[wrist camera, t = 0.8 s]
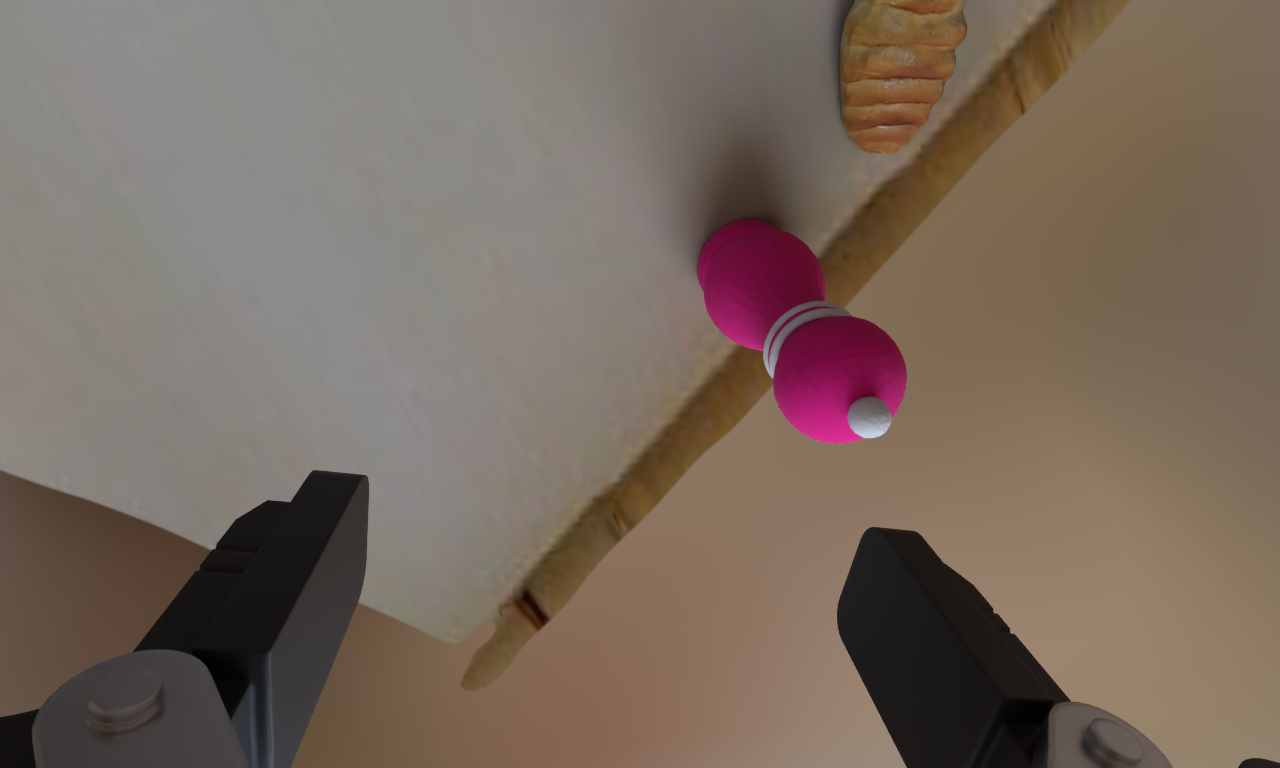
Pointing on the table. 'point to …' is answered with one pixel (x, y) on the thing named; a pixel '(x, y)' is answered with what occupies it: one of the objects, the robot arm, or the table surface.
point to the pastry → (895, 67)
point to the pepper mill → (801, 333)
